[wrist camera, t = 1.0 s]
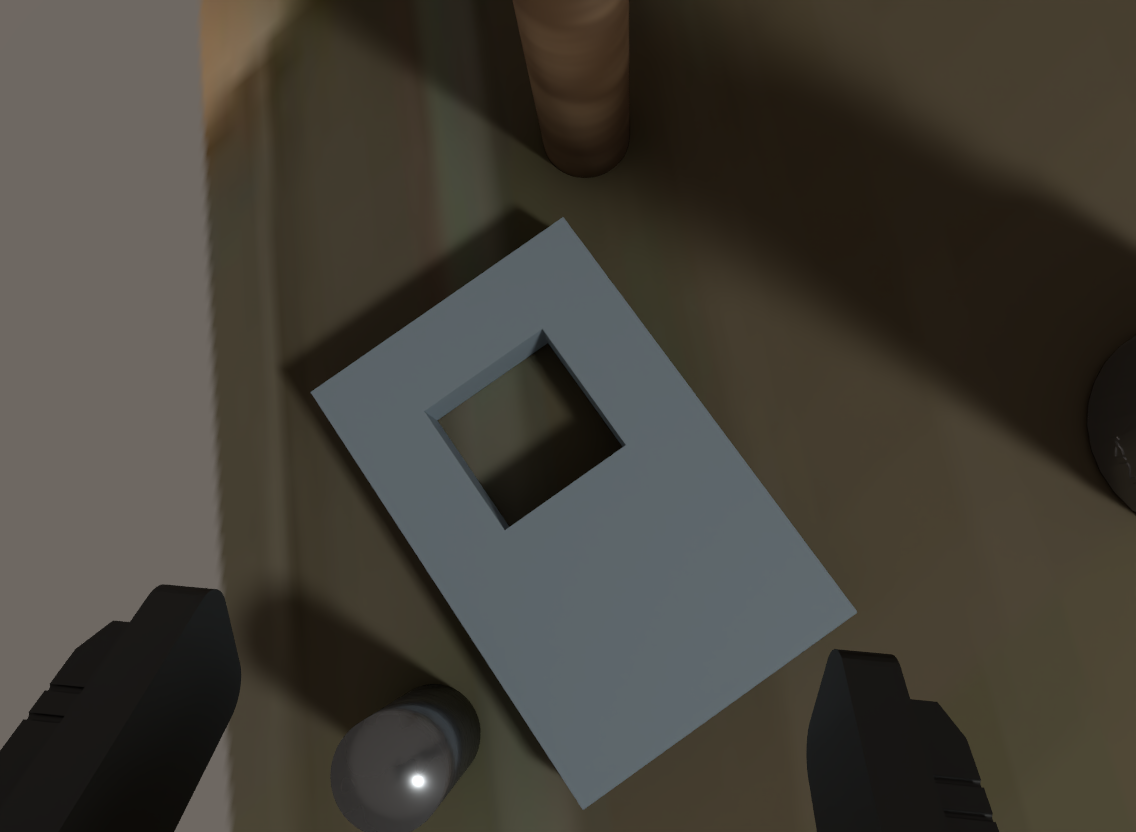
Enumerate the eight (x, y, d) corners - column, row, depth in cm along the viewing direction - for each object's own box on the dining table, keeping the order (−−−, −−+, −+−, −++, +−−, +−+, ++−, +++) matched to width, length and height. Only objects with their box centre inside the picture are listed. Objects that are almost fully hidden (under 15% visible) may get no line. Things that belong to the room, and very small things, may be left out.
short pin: (446, 665, 37) (404, 690, 30) (499, 746, 37) (468, 791, 30) (368, 720, 37) (308, 758, 30) (420, 803, 36) (370, 861, 30)
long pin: (596, 80, 41) (578, -161, 27) (646, 144, 40) (654, -69, 26) (526, 128, 41) (472, -89, 27) (575, 194, 40) (546, 5, 26)
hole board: (567, 237, 40) (563, 217, 37) (842, 608, 36) (857, 612, 34) (330, 402, 39) (310, 392, 37) (586, 792, 36) (583, 809, 34)
